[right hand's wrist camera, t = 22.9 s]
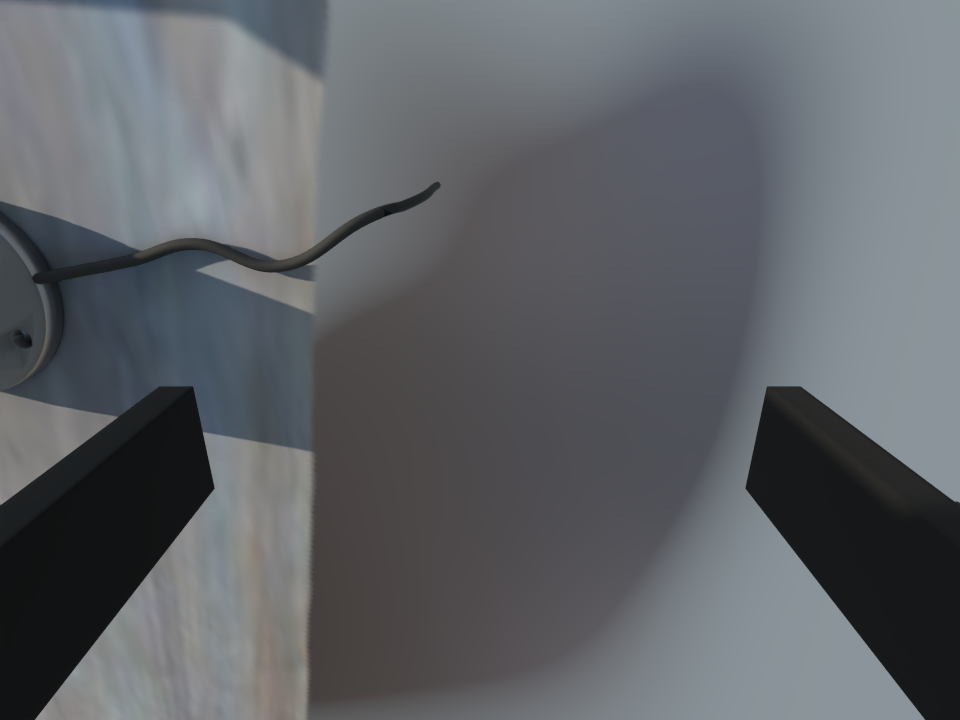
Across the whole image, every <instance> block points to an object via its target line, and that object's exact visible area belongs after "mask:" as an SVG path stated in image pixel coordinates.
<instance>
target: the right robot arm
mask: <svg viewBox="0 0 960 720" xmlns="http://www.w3.org/2000/svg"><path fill="white" fill-rule="evenodd" d="M440 186H441V184H440V183H439V182H435V183H433V184H432V185H430V186H429V187H428V188H427V189H426V190H424V191H423V192H421V193H419V194H417V195H415V196H412V197H410V198H408V199H405V200H403V201H400V202H395V203H390V204H386V205H382V206H379V207H377V208H374V209H372V210H369V211H367V212H365V213H363V214H361V215H359V216H357V217H355V218H353V219H352V220H350V221H348V222H347V223H345V224H344V225H342V226H341V227H339V228H338V229H337V230H335V231H334V232H333V233H331V234H330V235H329V236H327V237H326V238H325V239H324V240H322V241H321V242H320V243H318V244H317V245H315V246H314V247H313V248H311V249H309V250H308V251H306V252H304V253H302V254H300V255H298V256H295V257H293V258H289V259H285V260H280V261H262V260H258V259H254V258H251V257H249V256H247V255H244V254H242V253H240V252H238V251H236V250H234V249H232V248H230V247H227V246H225V245H223V244H220V243H217V242H214V241H211V240H206V239H198V238H185V239H177V240H173V241H169V242H165V243H163V244H160V245H157V246H155V247H152V248H150V249H147V250H144V251H142V252H139V253H135V254H132V255H128V256H123V257H119V258H114V259H108V260H103V261H98V262H92V263H87V264H81V265H76V266H71V267H66V268H61V269H56V270H50V269H49V267H48V265H47V263H46V262H45V260H44V258H43V257H42V255H41V254H40V253H39V251H38V250H37V248H36V247H35V246H34V245H33V243H32V242H31V241H30V240H29V239H28V237H27V236H26V235H25V234H24V233H23V232H22V231H21V230H20V229H19V228H18V227H17V226H16V225H14V224H13V223H12V222H11V221H10V220H9V219H8V218H6V217H5V216H4V215H2V214H1V213H0V392H2V391H5V390H7V389H9V388H12V387H14V386H16V385H17V384H19V383H21V382H23V381H25V380H27V379H29V378H31V377H32V376H34V375H36V374H37V373H38V372H40V371H41V370H42V369H43V368H44V367H45V366H46V365H47V364H48V363H49V361H50V360H51V359H52V357H53V356H54V354H55V352H56V350H57V348H58V346H59V343H60V339H61V336H62V329H63V309H62V302H61V297H60V294H59V290H58V287H57V284H56V281H61V280H66V279H71V278H76V277H81V276H86V275H92V274H97V273H102V272H108V271H113V270H118V269H123V268H128V267H132V266H136V265H140V264H143V263H146V262H149V261H152V260H154V259H157V258H160V257H162V256H165V255H168V254H170V253H174V252H178V251H183V250H205V251H210V252H213V253H216V254H219V255H221V256H223V257H226V258H228V259H230V260H232V261H234V262H236V263H238V264H241V265H243V266H245V267H248V268H251V269H254V270H257V271H262V272H283V271H289V270H293V269H297V268H299V267H302V266H305V265H307V264H309V263H311V262H313V261H314V260H316V259H317V258H319V257H320V256H322V255H323V254H325V253H326V252H328V251H329V250H330V249H332V248H333V247H334V246H336V245H337V244H338V243H339V242H341V241H342V240H344V239H345V238H346V237H348V236H349V235H350V234H352V233H353V232H355V231H357V230H358V229H360V228H362V227H364V226H366V225H368V224H369V223H372V222H374V221H376V220H378V219H381V218H383V217H386V216H389V215H392V214H395V213H399V212H403V211H406V210H408V209H411V208H413V207H415V206H417V205H419V204H421V203H422V202H424V201H426V200H427V199H429V198H430V197H431V196H432V195H433V194H434V192H435V191H436V190H438V189H439V188H440ZM213 490H214V484H213V479H212V474H211V469H210V465H209V460H208V455H207V450H206V446H205V441H204V436H203V432H202V427H201V422H200V417H199V413H198V408H197V403H196V398H195V394H194V389H193V387H158V388H157V389H156V390H154V391H153V392H152V393H150V394H149V395H148V396H146V397H145V398H144V399H142V400H141V401H140V402H138V403H137V404H135V405H134V406H133V407H131V408H130V409H129V410H127V411H126V412H125V413H123V414H122V415H121V416H119V417H118V418H117V419H115V420H114V421H113V422H111V423H110V424H109V425H107V426H106V427H105V428H103V429H102V430H101V431H99V432H98V433H97V434H95V435H94V436H93V437H91V438H90V439H89V440H87V441H86V442H85V443H83V444H82V445H81V446H79V447H78V448H77V449H75V450H74V451H73V452H71V453H70V454H69V455H67V456H66V457H65V458H63V459H62V460H61V461H59V462H58V463H57V464H55V465H54V466H53V467H51V468H50V469H49V470H47V471H46V472H45V473H43V474H42V475H41V476H39V477H38V478H37V479H35V480H34V481H33V482H31V483H30V484H29V485H27V486H26V487H25V488H23V489H22V490H21V491H19V492H18V493H17V494H15V495H14V496H13V497H11V498H10V499H9V500H7V501H6V502H5V503H3V504H2V505H0V720H35V719H36V718H37V716H38V715H39V714H40V712H41V711H42V710H43V709H44V707H45V706H46V705H47V703H48V702H49V701H50V699H51V698H52V697H53V696H54V694H55V693H56V692H57V690H58V689H59V688H60V687H61V685H62V684H63V683H64V681H65V680H66V679H67V678H68V676H69V675H70V674H71V672H72V671H73V670H74V669H75V667H76V666H77V665H78V663H79V662H80V661H81V660H82V658H83V657H84V656H85V654H86V653H87V652H88V651H89V649H90V648H91V647H92V645H93V644H94V643H95V642H96V640H97V639H98V638H99V636H100V635H101V634H102V633H103V631H104V630H105V629H106V627H107V626H108V625H109V624H110V622H111V621H112V620H113V618H114V617H115V616H116V615H117V613H118V612H119V611H120V609H121V608H122V607H123V606H124V604H125V603H126V602H127V600H128V599H129V598H130V597H131V595H132V594H133V593H134V591H135V590H136V589H137V588H138V586H139V585H140V584H141V582H142V581H143V580H144V578H145V577H146V576H147V575H148V573H149V572H150V571H151V569H152V568H153V567H154V566H155V564H156V563H157V562H158V560H159V559H160V558H161V557H162V555H163V554H164V553H165V551H166V550H167V549H168V548H169V546H170V545H171V544H172V542H173V541H174V540H175V539H176V537H177V536H178V535H179V533H180V532H181V531H182V530H183V528H184V527H185V526H186V524H187V523H188V522H189V521H190V519H191V518H192V517H193V515H194V514H195V513H196V512H197V510H198V509H199V508H200V506H201V505H202V504H203V503H204V501H205V500H206V499H207V497H208V496H209V495H210V494H211V492H212V491H213ZM746 490H747V491H748V492H749V494H750V495H751V496H752V497H753V499H754V500H755V501H756V503H757V504H758V505H759V506H760V508H761V509H762V510H763V511H764V513H765V514H766V515H767V517H768V518H769V519H770V521H771V522H772V523H773V524H774V526H775V527H776V528H777V530H778V531H779V532H780V533H781V535H782V536H783V537H784V539H785V540H786V541H787V542H788V544H789V545H790V546H791V548H792V549H793V550H794V551H795V553H796V554H797V555H798V557H799V558H800V559H801V560H802V562H803V563H804V564H805V566H806V567H807V568H808V569H809V571H810V572H811V573H812V575H813V576H814V577H815V578H816V580H817V581H818V582H819V584H820V585H821V586H822V588H823V589H824V590H825V591H826V593H827V594H828V595H829V597H830V598H831V599H832V600H833V602H834V603H835V604H836V605H837V607H838V608H839V609H840V611H841V612H842V613H843V615H844V616H845V617H846V618H847V620H848V621H849V622H850V624H851V625H852V626H853V627H854V629H855V630H856V631H857V633H858V634H859V635H860V636H861V638H862V639H863V640H864V642H865V643H866V644H867V645H868V647H869V648H870V649H871V651H872V652H873V653H874V654H875V656H876V657H877V658H878V660H879V661H880V662H881V663H882V665H883V666H884V667H885V669H886V670H887V671H888V672H889V674H890V675H891V676H892V678H893V679H894V680H895V681H896V683H897V684H898V685H899V687H900V688H901V689H902V690H903V692H904V693H905V694H906V696H907V697H908V698H909V699H910V701H911V702H912V703H913V705H914V706H915V707H916V708H917V710H918V711H919V712H920V713H921V715H922V716H923V717H924V719H925V720H960V503H959V502H954V501H953V500H951V499H950V498H949V497H947V496H946V495H945V494H943V493H942V492H941V491H939V490H938V489H937V488H935V487H934V486H933V485H931V484H930V483H929V482H927V481H926V480H925V479H923V478H922V477H921V476H919V475H918V474H917V473H915V472H914V471H913V470H911V469H910V468H909V467H907V466H906V465H905V464H903V463H902V462H901V461H899V460H898V459H897V458H895V457H894V456H893V455H891V454H890V453H889V452H887V451H886V450H885V449H883V448H882V447H881V446H879V445H878V444H877V443H875V442H874V441H873V440H871V439H870V438H868V437H867V436H866V435H865V434H863V433H862V432H861V431H859V430H858V429H857V428H855V427H854V426H853V425H851V424H850V423H849V422H847V421H846V420H845V419H843V418H842V417H841V416H839V415H838V414H836V413H835V412H834V411H832V410H831V409H830V408H829V407H827V406H826V405H824V404H823V403H822V402H820V401H819V400H818V399H816V398H815V397H814V396H812V395H811V394H810V393H808V392H807V391H806V390H804V389H803V388H802V387H767V389H766V394H765V398H764V403H763V408H762V413H761V418H760V422H759V427H758V432H757V436H756V441H755V446H754V450H753V455H752V460H751V465H750V470H749V474H748V479H747V484H746Z"/></svg>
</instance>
